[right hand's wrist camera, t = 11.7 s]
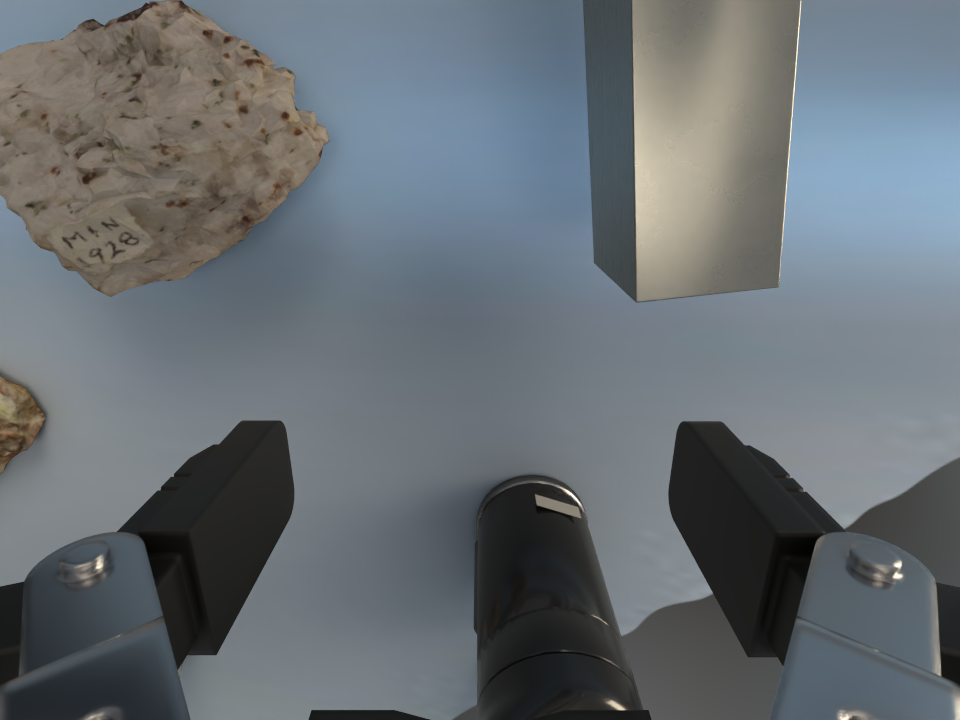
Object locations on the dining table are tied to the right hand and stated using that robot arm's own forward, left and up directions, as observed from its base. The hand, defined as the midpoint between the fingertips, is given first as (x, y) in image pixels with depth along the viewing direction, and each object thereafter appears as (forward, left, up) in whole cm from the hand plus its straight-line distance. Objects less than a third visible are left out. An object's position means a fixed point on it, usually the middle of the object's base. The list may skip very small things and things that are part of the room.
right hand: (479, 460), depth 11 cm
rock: (-3, +21, -29) cm, 36 cm away
